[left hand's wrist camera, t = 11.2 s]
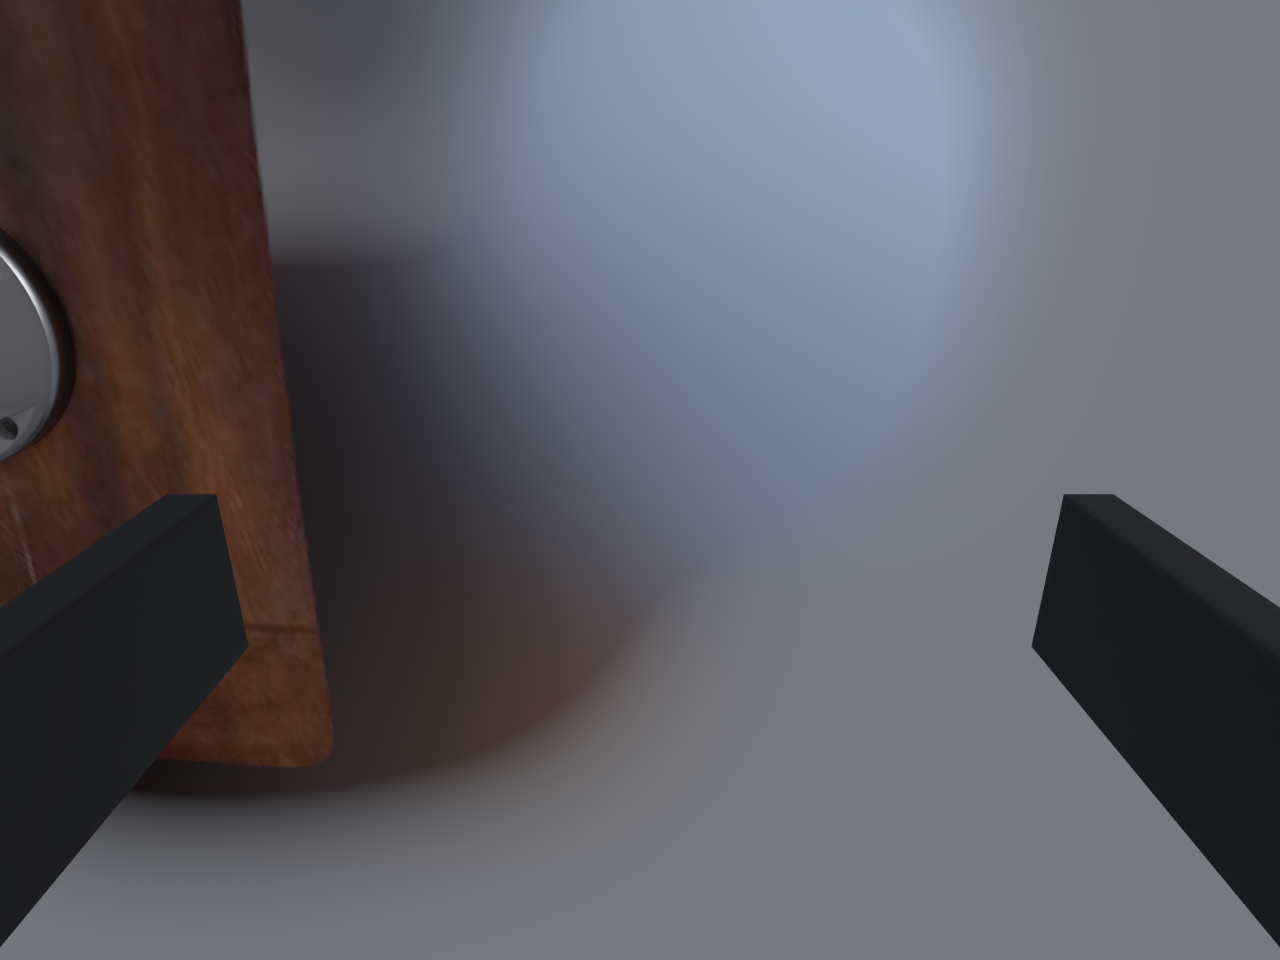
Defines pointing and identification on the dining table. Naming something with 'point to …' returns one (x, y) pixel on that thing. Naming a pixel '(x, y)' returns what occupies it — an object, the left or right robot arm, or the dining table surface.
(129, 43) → the dining table surface
